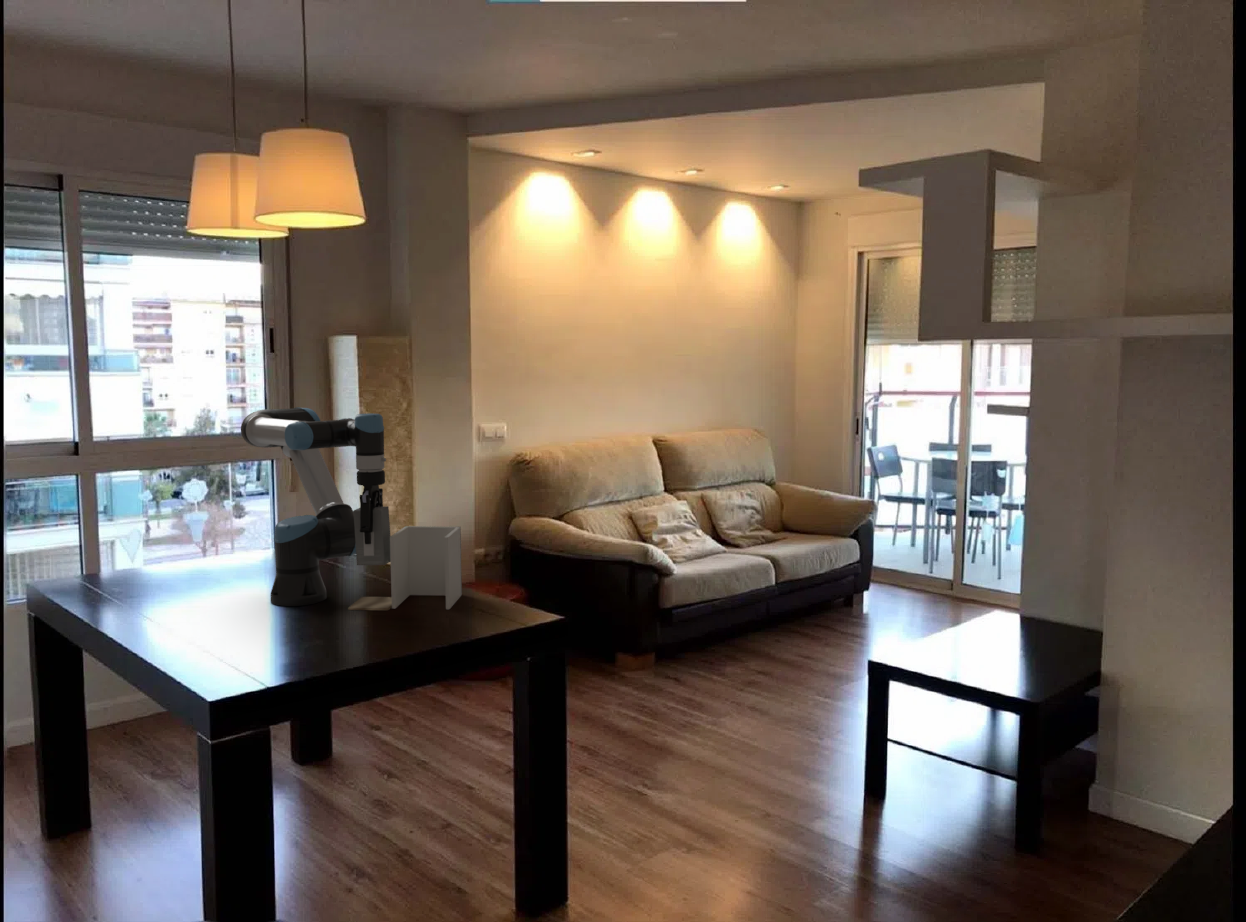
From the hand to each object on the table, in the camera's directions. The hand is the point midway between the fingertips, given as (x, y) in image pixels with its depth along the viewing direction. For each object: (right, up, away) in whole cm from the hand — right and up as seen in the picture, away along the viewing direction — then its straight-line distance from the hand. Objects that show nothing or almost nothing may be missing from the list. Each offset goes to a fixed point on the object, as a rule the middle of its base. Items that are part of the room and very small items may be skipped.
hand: (373, 552), depth 279 cm
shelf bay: (+14, -14, +5) cm, 21 cm away
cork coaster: (0, -15, +2) cm, 15 cm away
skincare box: (0, -3, 0) cm, 3 cm away
